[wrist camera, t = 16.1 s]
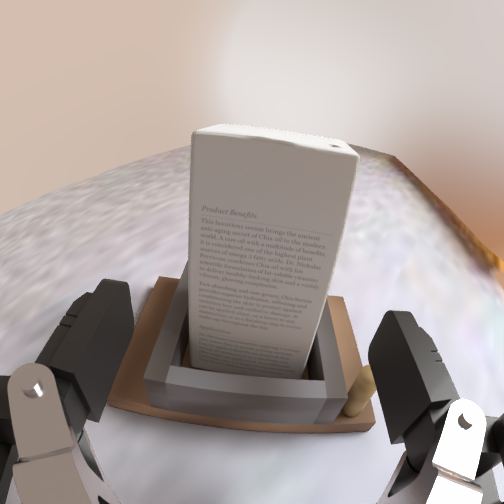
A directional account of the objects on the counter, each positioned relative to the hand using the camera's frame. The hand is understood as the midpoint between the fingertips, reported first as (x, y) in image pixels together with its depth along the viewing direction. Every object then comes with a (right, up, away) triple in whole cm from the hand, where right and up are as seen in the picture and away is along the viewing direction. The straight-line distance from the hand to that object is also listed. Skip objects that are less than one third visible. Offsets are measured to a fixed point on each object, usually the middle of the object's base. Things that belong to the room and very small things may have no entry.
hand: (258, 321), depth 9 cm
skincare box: (0, -4, +8) cm, 9 cm away
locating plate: (-1, -4, +9) cm, 10 cm away
